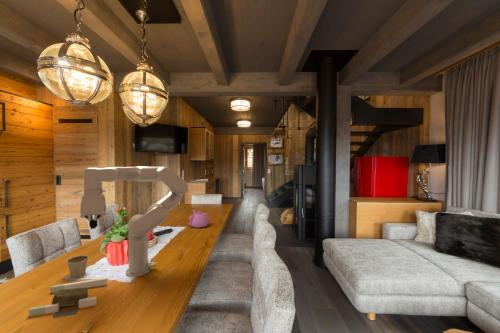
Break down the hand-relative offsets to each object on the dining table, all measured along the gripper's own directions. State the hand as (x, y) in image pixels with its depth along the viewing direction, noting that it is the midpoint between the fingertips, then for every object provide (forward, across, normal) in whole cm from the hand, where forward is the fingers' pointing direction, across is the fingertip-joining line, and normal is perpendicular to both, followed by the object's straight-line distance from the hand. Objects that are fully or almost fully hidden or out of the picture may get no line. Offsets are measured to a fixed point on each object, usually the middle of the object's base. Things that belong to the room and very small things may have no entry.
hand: (93, 228), depth 112 cm
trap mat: (+27, +2, +25) cm, 37 cm away
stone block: (+28, +7, +19) cm, 34 cm away
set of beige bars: (+27, +4, +14) cm, 31 cm away
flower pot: (+27, +10, -10) cm, 31 cm away
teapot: (+27, -62, -84) cm, 108 cm away
